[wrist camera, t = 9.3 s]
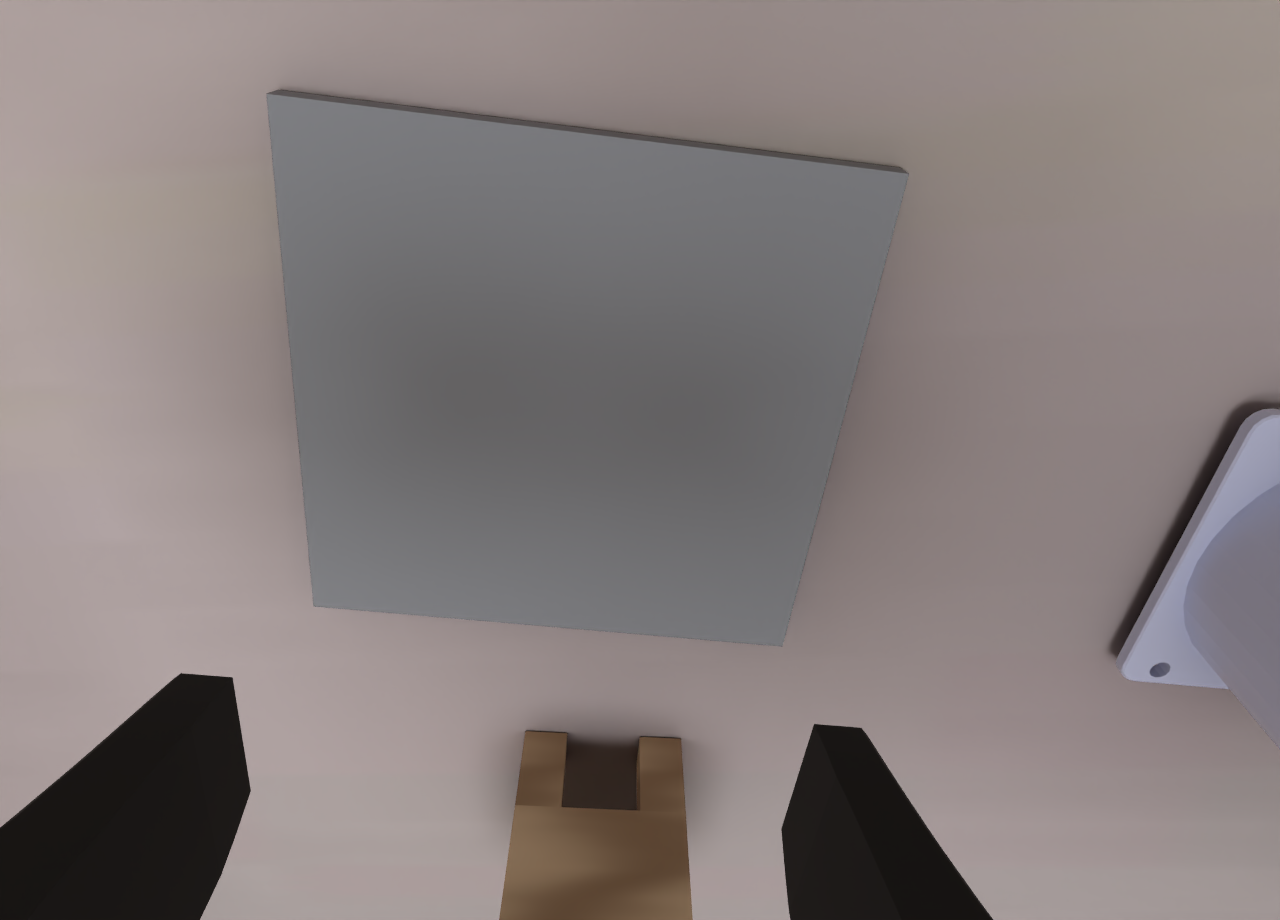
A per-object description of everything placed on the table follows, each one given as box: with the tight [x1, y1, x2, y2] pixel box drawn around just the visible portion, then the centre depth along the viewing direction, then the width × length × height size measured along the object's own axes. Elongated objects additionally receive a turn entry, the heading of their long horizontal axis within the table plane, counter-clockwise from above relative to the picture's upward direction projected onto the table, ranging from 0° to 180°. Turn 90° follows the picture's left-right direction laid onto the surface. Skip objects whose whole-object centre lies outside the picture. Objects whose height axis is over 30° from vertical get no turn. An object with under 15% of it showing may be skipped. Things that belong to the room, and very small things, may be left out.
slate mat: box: [267, 90, 909, 647], centre depth 19 cm, size 12×12×1 cm
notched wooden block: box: [499, 731, 692, 920], centre depth 23 cm, size 4×4×7 cm
